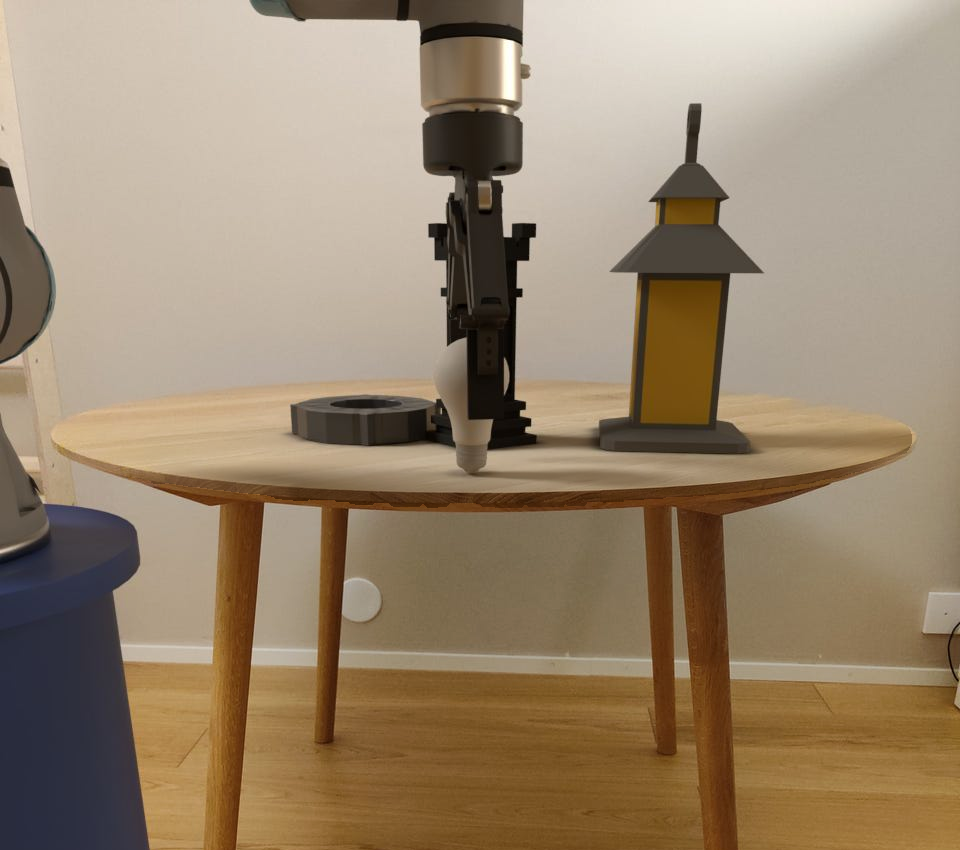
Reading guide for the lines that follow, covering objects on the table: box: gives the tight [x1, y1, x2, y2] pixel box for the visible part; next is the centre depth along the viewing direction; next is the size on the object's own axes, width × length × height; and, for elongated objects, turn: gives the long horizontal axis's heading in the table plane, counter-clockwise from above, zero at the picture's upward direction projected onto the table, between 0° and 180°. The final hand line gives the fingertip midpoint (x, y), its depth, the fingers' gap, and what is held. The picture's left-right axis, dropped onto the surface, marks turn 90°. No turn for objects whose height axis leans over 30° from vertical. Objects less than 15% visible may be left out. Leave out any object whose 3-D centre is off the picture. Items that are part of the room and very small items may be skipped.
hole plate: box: [289, 393, 442, 446], centre depth 99 cm, size 14×14×3 cm
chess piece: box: [425, 222, 538, 450], centre depth 92 cm, size 8×8×20 cm
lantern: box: [598, 102, 765, 455], centre depth 91 cm, size 14×14×30 cm
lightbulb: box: [433, 338, 509, 475], centre depth 78 cm, size 6×6×11 cm
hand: (475, 407), depth 79 cm, fingers open, 13 cm apart
